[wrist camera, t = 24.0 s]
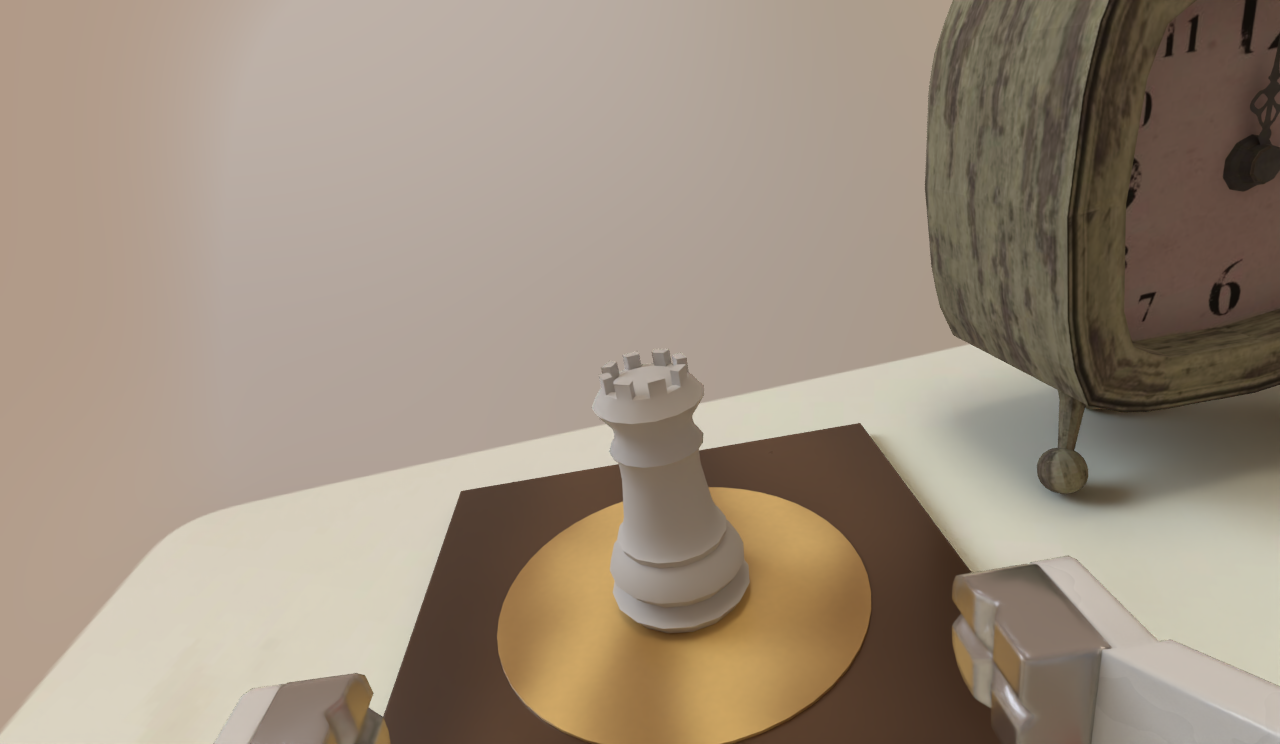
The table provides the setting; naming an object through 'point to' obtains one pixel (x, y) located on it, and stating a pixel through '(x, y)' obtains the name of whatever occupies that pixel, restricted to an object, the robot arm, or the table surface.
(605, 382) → the rook chess piece
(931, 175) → the tabletop clock
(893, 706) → the brown flat square panel
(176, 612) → the table surface
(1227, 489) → the table surface
